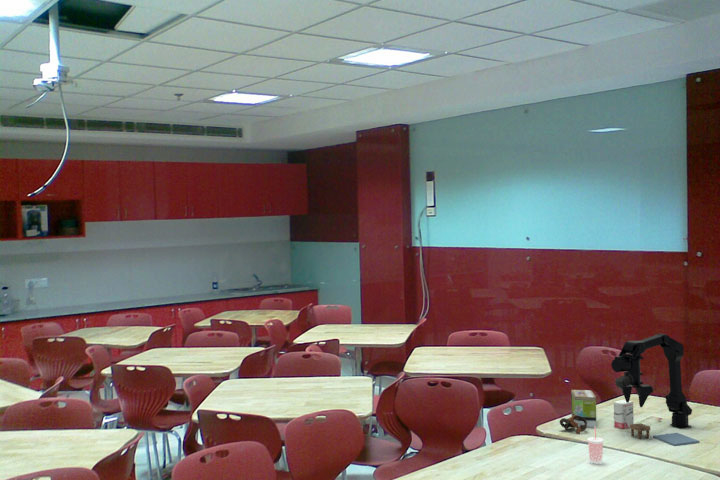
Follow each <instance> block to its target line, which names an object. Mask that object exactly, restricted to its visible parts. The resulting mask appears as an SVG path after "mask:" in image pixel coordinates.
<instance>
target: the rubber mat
mask: <svg viewBox="0 0 720 480" xmlns="http://www.w3.org/2000/svg"><path fill="white" fill-rule="evenodd" d="M652 438H653V439H655V440H658V441H661V442H663V443H666V444H668V445H670V446H674V447H677V446H684V445H685V446H686V445H693V444H700V440H698V439H695V438H693V437H691V436H687V435H684V434H682V433H679V432H672V433H670V432H669V433H665V434H663V433H662V434H657V435H656V434H655V435H652Z"/></svg>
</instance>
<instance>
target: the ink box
mask: <svg viewBox="0 0 720 480" xmlns="http://www.w3.org/2000/svg"><path fill="white" fill-rule="evenodd" d="M634 420H635V419H634V401H632V400H629V402H626V400H625V398H624V399H620V400H616V401H613V422H614V424H613V425H614V428H617V429H621V430H625V429H628V428H629V429H630V425H631V424H635V423H634V422H635V421H634Z"/></svg>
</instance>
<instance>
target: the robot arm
mask: <svg viewBox="0 0 720 480" xmlns="http://www.w3.org/2000/svg"><path fill="white" fill-rule="evenodd" d="M657 346H659V347H660V348H662V349H663V355H664V356H665V358H666V359H667V360H668V362H667V363H668V375H669V376H668V377H669V392H668V394H666V395H665V404H666V407H667V409H668V412H670V413H671V414H672V416H671V423H669V425H670V426H671V425H672V427H675V428H678V429H686V428H687V427H688V428H692V426H691V425H690V424H689V416H690V415H692V413H693V409H692V408H691V407H690V406H689V405H688V401H687V397H686V396H685V394H684V392H683V388H682V387H683V386H682V384H683V383H682V370H681V369H682V368H681V360H682V359H683V356H684V353H685V352H684V351H685V349H684V344H682V343H681V342H679V341H678V340H676V339H674V338H672V337H670V336H669V335H668V334H665V333H657V334H655V335H651V336H650V337H646V338H643V339H639V340H627V341H625V342H624V344H623V346H622V349H621V350H620V353H619V354H618V356H617V355H615V356H614V359H613V360H612V361H611V364H610V365H611V368H612V371H613V372H614V373H622V372H623V375H622V376H620V377H617V378H615V379H614V381H615V385H616V387H617V388H619V389H620V390H621V392H622V394H623V396H624V399H625V400H626V402H629V401H631V395H632V390H633V388H634V389H635V393H636V394H637V396H638V403H639V405H638V406H639V407H640V408H643V406H644V405H645V403H646V401H647V400H648V397H649V396H650V395H651V394H652V393H654V387H653V386H652V385H649V384H647V383H646V384H645V383H644V381H642V379H641V376H643V371H641V360H644V359H645V358H644V357H643V356H642V354H644V353H645V351H646V350H648V349H651V348H654V347H657ZM688 428H687V429H688Z"/></svg>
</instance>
